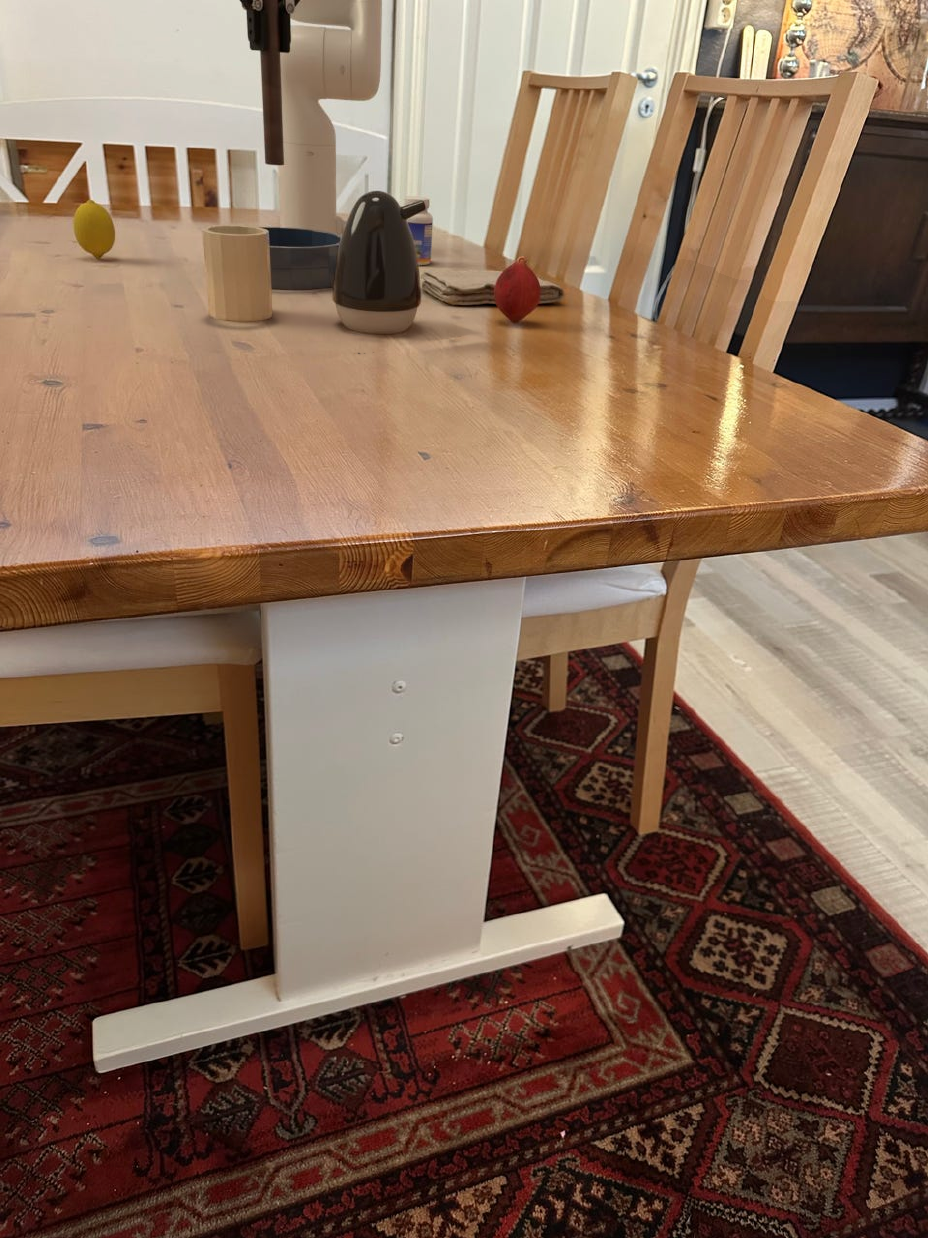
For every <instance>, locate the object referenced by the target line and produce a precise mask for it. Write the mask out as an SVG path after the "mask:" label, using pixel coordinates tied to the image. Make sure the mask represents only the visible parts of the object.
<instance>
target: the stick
mask: <svg viewBox="0 0 928 1238" xmlns="http://www.w3.org/2000/svg"><path fill="white" fill-rule="evenodd" d="M262 11H266V13H267V26H268V50H267V51H259V54H260V56H259V57H260V72H261V73H260V74H261V75H260V76H261V77H260V79H261V103H262V119H263V120H262V123H263V125H262V126H263V145H264V164H265V165H269V166H278V165H284V147H283V118H282V90H281V61H280V32H279V4H278V0H262Z"/></svg>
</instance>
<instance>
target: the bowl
mask: <svg viewBox="0 0 928 1238" xmlns="http://www.w3.org/2000/svg"><path fill="white" fill-rule="evenodd" d="M258 227H259V228H263V229H266V230H268V231H269V246H270V269H271V290H292V291H293V290H317V289H326V288H327V289H328V288H332V286H333V276H334V268H335V261H336V256H337V251H338V247H339V243H340V240H341V235H338V234H334V233H330V232H325V231H319V230H312V229H302V228H288V227H280V226H258Z"/></svg>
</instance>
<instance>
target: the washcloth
mask: <svg viewBox="0 0 928 1238" xmlns="http://www.w3.org/2000/svg"><path fill="white" fill-rule="evenodd" d="M503 271H504V270H493V269H492V270H489V269H488V270H484V269H483V270H481V269H478V270H449V269H448V270H446V269H444V270H440V269H439V270H435V269H434V270H433V269H431V270H426V271H424V272H423V273H422V274H421V275H420V279H422V280H424V281H422V282H421V289H423V290H424V291H425V292H427V293H429V294H430V295H431V296H433V297H435V298H437V299H439V300H440V301H441V302H445V303H446V304H449V305H453V306H454V305H456V306H457V305H460V306H461V305H462V306H472V305H483V304H492V305H496V302H495V298H494V289H495V284H496V281H497V279H498V277H499V276H500V274H501V273H502V272H503ZM537 279H538V281H539V284H540V287H541V296H540V301H539V303H538V305H539V304H552V303H553V304H554V303H556V302H557V303H558V302H560V301H562V299H563V298H564V297H565V291H564V289H563V288H562V287H561V286H559V285H558V284H555V283H553V282H551V281H549V280H546V279H545V280H544V279H541V278H540V277H537Z"/></svg>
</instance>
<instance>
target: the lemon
mask: <svg viewBox="0 0 928 1238" xmlns="http://www.w3.org/2000/svg"><path fill="white" fill-rule="evenodd" d="M73 231H74V237H75V239H76V241H77V244H78V245H79V246H80V247H81V248H82V250H83V251H85V252H86V253H89V254H90V255H92V256H93V257H94V258H95V259H97V260H100V259H102V258H103V256H104V255H105V254H107V253H109V252H111V250H112V248H113V247H114V245H115V242H116V229H115V224H114V222H113V219H112V216H111V214H110V213H109V212H108V210H107V209H106V208H105V207H104V206H103V205H101V204H99V203H97V202H95V200H93V199H87V201H86V202H84V203H82V204H81V205H80V206H78V207H77V209H76V211H75V212H74V216H73Z"/></svg>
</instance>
